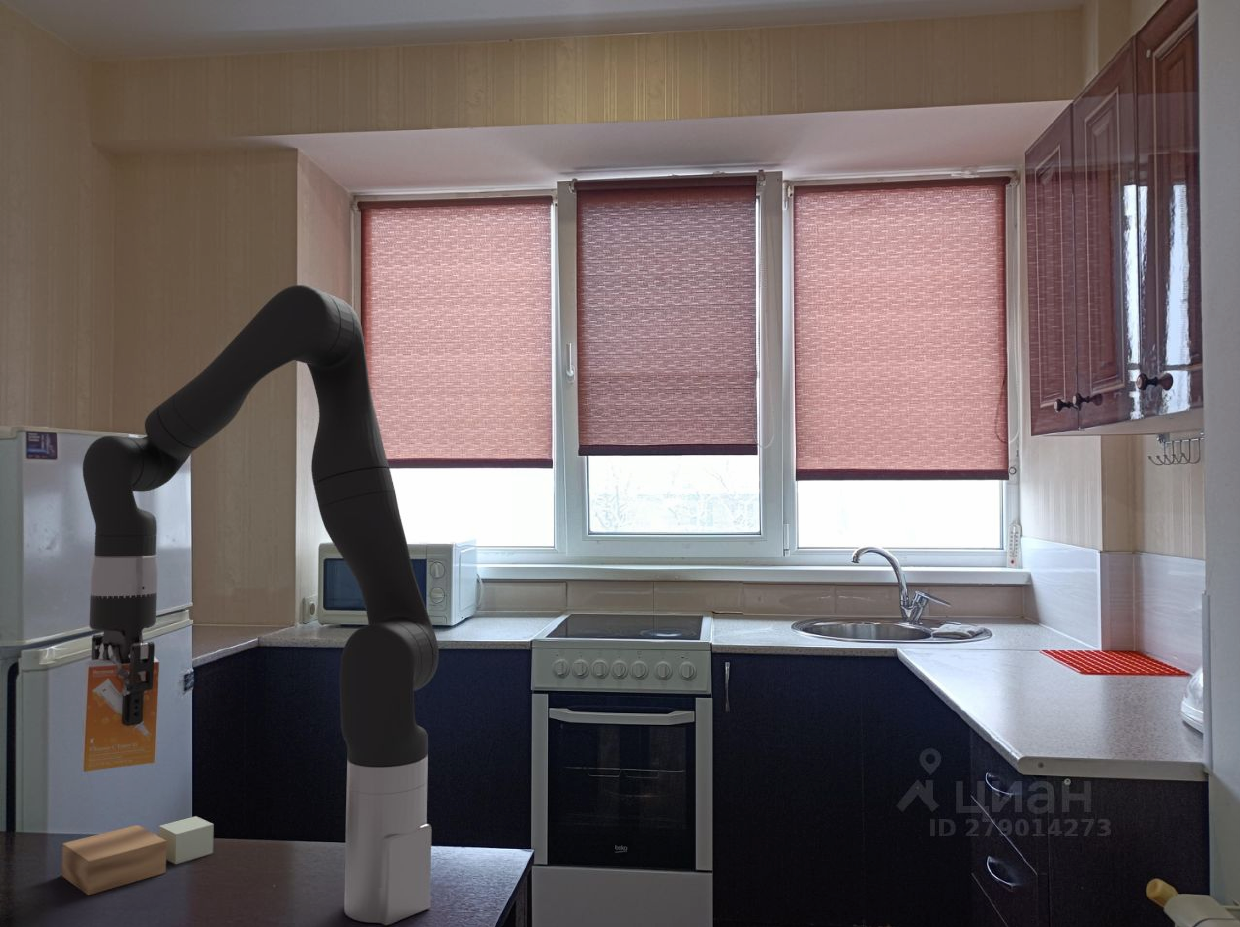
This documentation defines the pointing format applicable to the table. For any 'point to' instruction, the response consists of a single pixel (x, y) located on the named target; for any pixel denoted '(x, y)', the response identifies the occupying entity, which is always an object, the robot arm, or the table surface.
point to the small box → (115, 720)
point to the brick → (187, 839)
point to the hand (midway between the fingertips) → (119, 719)
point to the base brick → (113, 859)
